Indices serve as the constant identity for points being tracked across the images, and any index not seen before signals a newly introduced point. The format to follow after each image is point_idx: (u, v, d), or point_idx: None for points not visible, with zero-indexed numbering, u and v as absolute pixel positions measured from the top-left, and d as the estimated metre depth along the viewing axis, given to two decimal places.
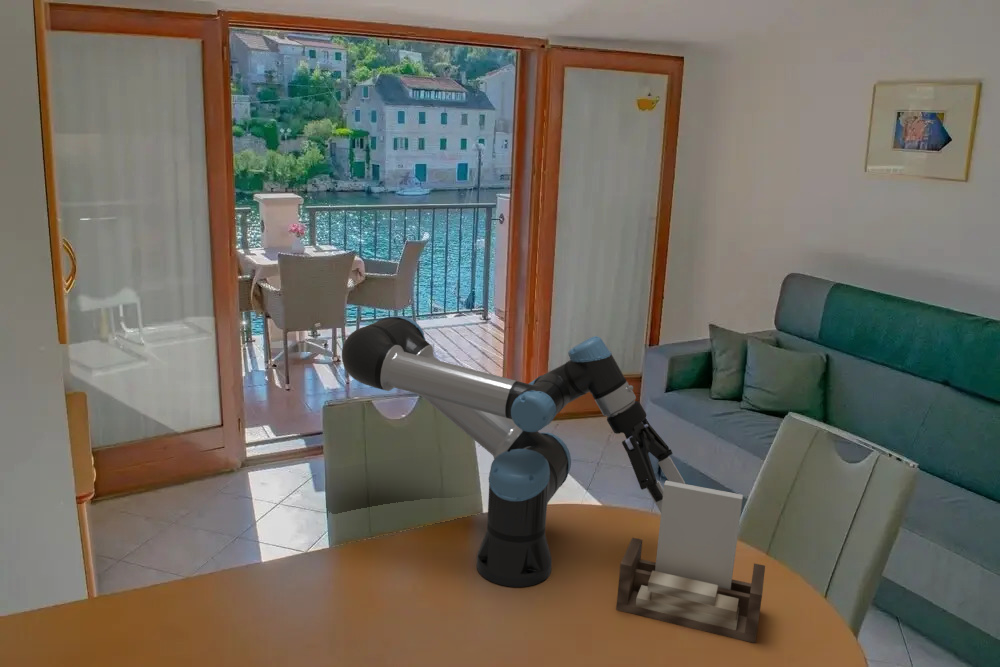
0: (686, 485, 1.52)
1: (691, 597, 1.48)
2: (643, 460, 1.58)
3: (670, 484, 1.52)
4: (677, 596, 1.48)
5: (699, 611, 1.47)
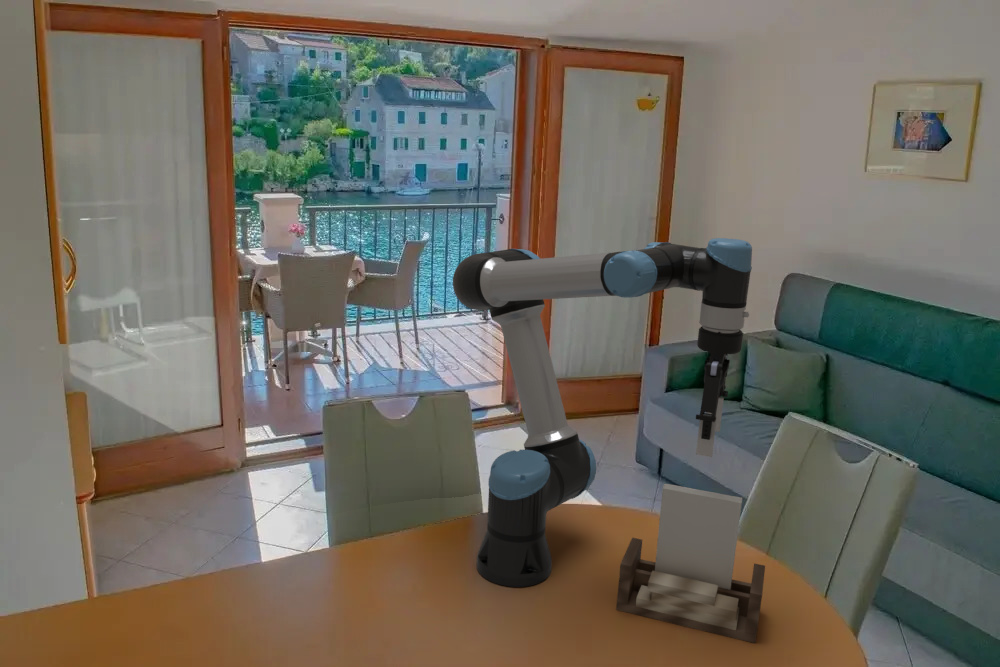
0: (685, 488, 1.50)
1: (691, 597, 1.48)
2: (718, 393, 1.38)
3: (669, 488, 1.50)
4: (677, 596, 1.48)
5: (699, 611, 1.47)
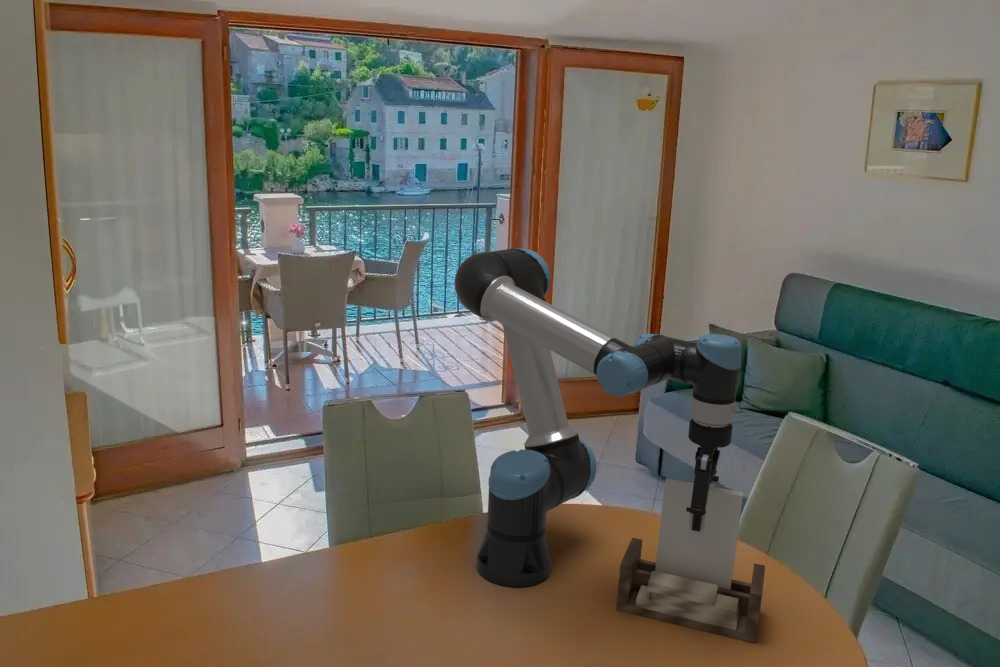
0: (687, 483, 1.53)
1: (691, 597, 1.48)
2: (707, 487, 1.42)
3: (671, 482, 1.53)
4: (677, 596, 1.48)
5: (699, 611, 1.47)
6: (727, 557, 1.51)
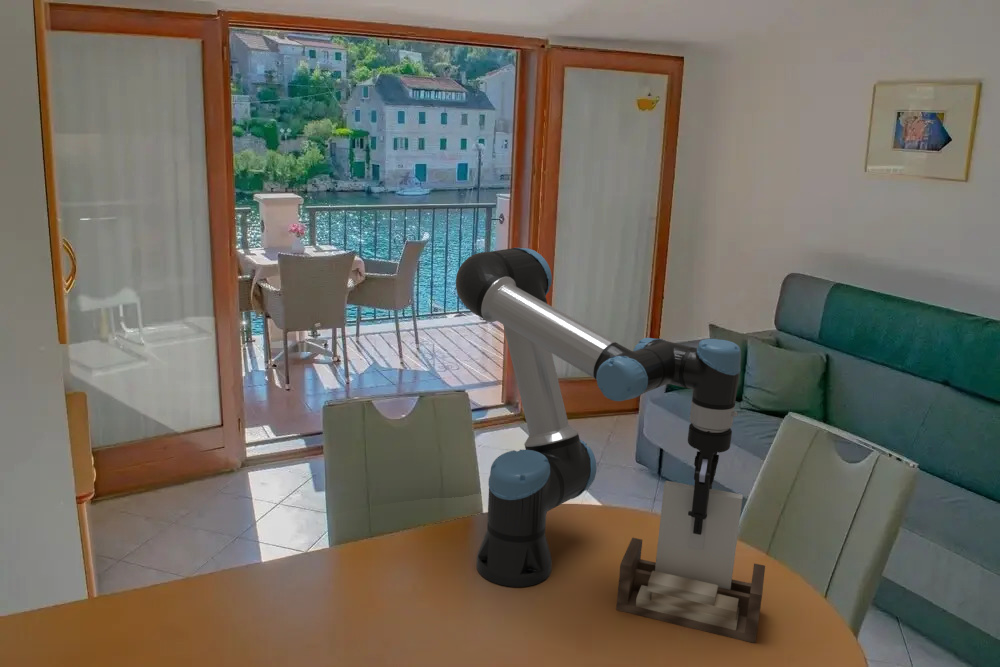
0: (686, 485, 1.52)
1: (691, 597, 1.48)
2: (707, 496, 1.45)
3: (670, 484, 1.52)
4: (677, 596, 1.48)
5: (699, 611, 1.47)
6: (727, 559, 1.51)
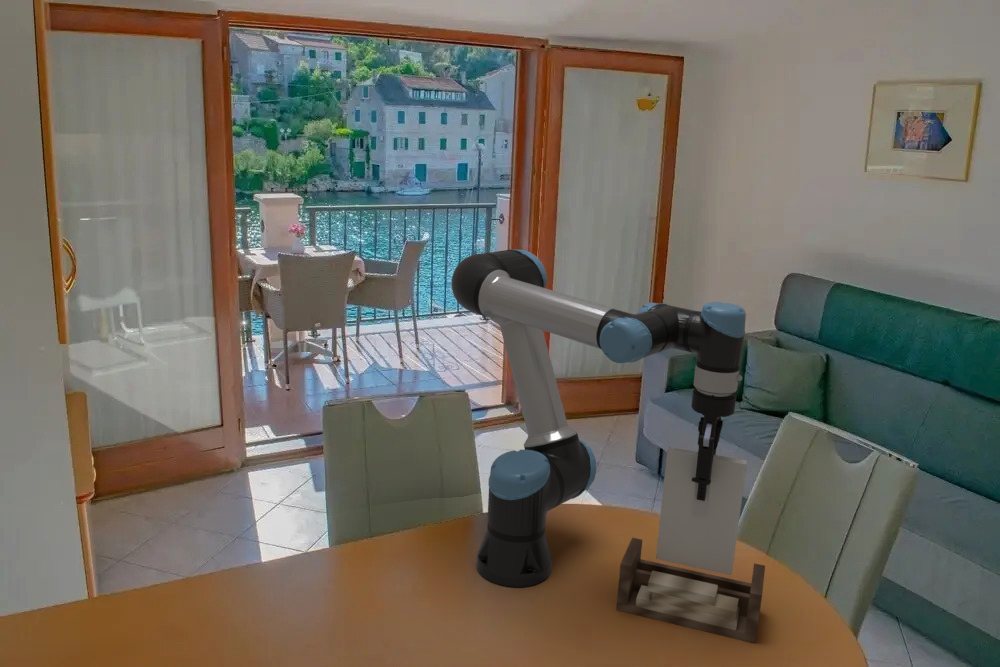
0: (690, 451, 1.50)
1: (691, 597, 1.48)
2: (711, 461, 1.44)
3: (674, 450, 1.50)
4: (677, 596, 1.48)
5: (699, 611, 1.47)
6: (730, 526, 1.49)
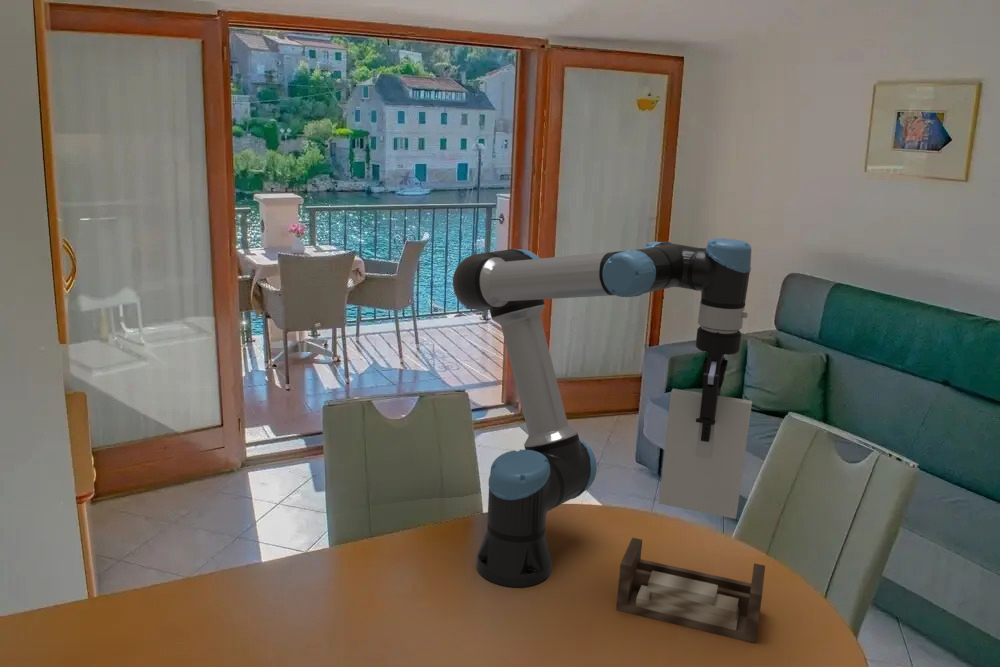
0: (694, 392, 1.48)
1: (691, 597, 1.48)
2: (716, 399, 1.41)
3: (677, 391, 1.48)
4: (677, 596, 1.48)
5: (699, 611, 1.47)
6: (735, 467, 1.47)
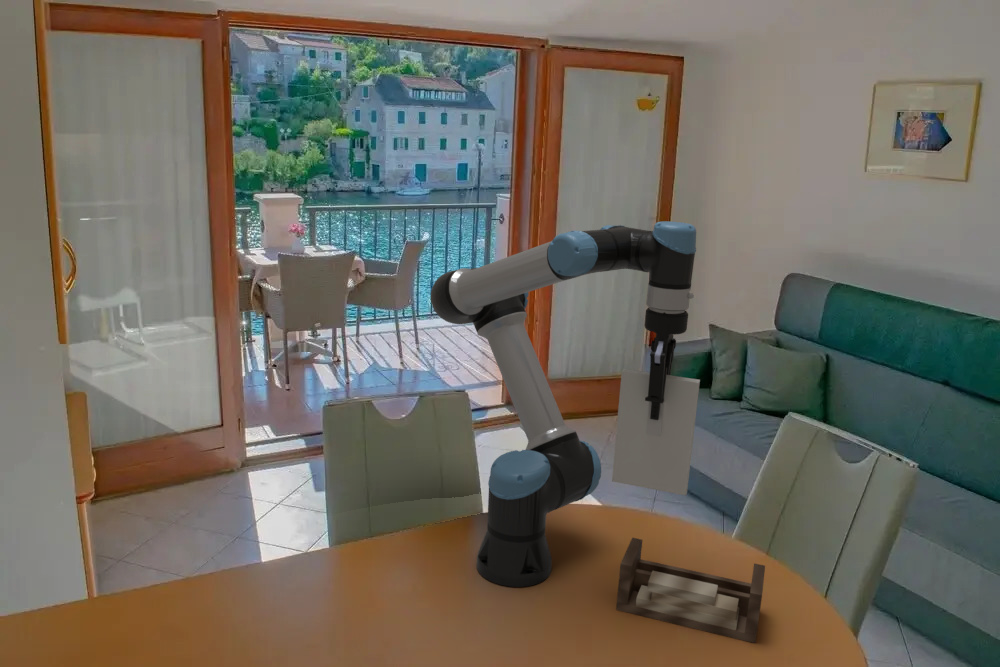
0: (644, 372, 1.52)
1: (691, 597, 1.48)
2: (663, 378, 1.45)
3: (628, 371, 1.52)
4: (677, 596, 1.48)
5: (699, 611, 1.47)
6: (684, 445, 1.50)
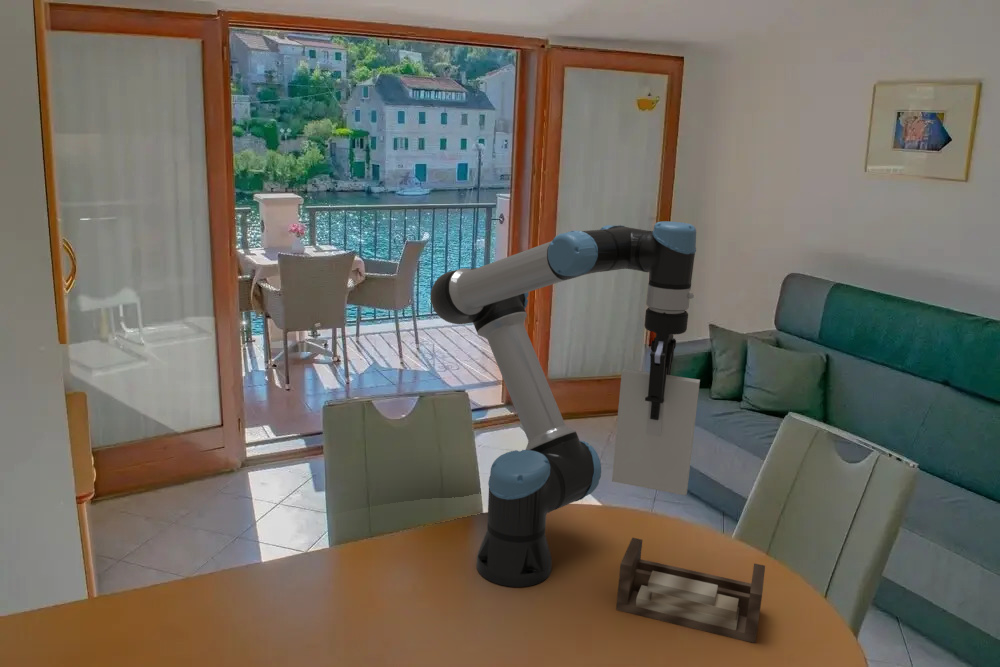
0: (644, 372, 1.52)
1: (691, 597, 1.48)
2: (663, 378, 1.45)
3: (628, 371, 1.52)
4: (677, 596, 1.48)
5: (699, 611, 1.47)
6: (684, 445, 1.50)
